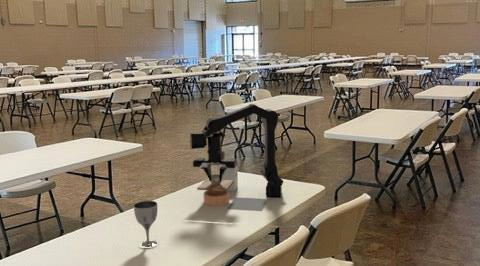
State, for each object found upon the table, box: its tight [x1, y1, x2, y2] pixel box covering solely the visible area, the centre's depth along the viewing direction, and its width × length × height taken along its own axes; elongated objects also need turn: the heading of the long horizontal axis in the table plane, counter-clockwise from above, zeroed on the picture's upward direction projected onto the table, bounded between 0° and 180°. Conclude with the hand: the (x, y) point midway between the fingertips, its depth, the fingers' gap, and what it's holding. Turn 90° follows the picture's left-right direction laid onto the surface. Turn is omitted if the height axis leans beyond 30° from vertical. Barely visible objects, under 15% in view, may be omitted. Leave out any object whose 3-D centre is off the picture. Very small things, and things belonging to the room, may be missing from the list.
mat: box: [226, 196, 269, 212], centre depth 201 cm, size 15×15×1 cm
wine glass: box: [133, 200, 158, 247], centre depth 163 cm, size 8×8×15 cm
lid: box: [196, 173, 234, 191], centre depth 203 cm, size 13×13×5 cm
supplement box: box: [219, 165, 239, 192], centre depth 222 cm, size 7×7×13 cm
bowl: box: [202, 190, 230, 207], centre depth 205 cm, size 11×11×4 cm
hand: (215, 181), depth 204 cm, fingers closed on lid, 4 cm apart
